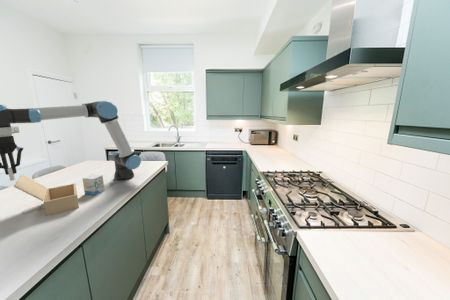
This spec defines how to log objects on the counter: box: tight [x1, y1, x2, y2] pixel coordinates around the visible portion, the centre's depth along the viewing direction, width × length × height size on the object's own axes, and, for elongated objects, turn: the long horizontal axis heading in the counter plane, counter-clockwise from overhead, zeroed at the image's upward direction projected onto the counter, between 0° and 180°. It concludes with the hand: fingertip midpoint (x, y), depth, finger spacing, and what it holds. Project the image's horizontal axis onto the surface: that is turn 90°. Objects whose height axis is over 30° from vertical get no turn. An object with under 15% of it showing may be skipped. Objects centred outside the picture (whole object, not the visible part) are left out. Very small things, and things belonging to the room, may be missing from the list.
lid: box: [13, 174, 48, 202], centre depth 107 cm, size 14×22×1 cm
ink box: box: [82, 174, 106, 196], centre depth 132 cm, size 8×8×12 cm
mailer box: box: [42, 183, 80, 216], centre depth 116 cm, size 14×23×8 cm, turn 39°
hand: (12, 179), depth 102 cm, fingers closed
